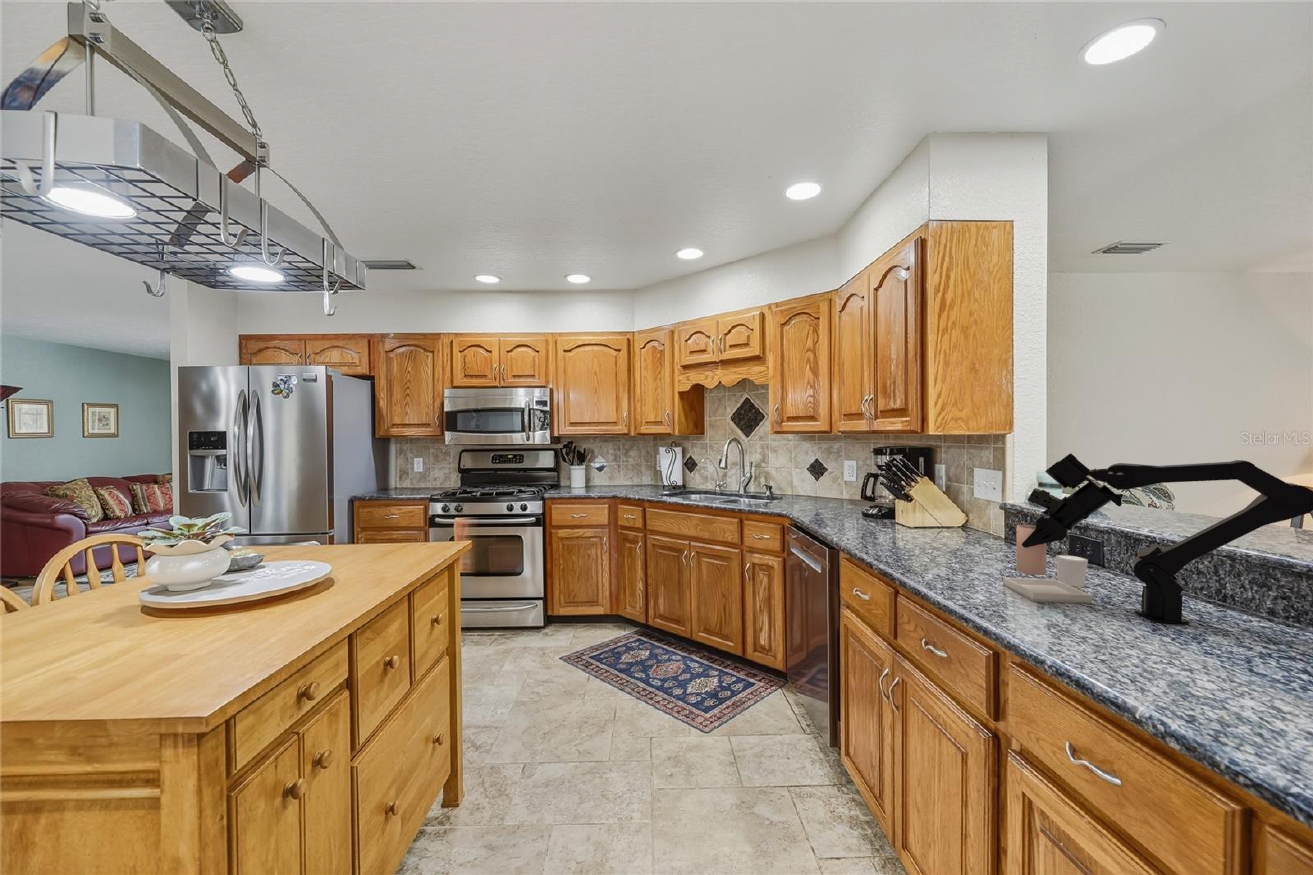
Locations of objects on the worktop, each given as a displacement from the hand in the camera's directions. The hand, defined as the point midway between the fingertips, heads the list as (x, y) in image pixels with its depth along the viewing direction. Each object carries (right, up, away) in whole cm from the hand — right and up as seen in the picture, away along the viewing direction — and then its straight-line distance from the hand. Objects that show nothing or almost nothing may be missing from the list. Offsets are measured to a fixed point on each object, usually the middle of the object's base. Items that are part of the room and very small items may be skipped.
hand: (1024, 544), depth 132 cm
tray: (+5, -13, +1) cm, 14 cm away
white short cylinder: (+19, -13, +10) cm, 25 cm away
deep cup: (+1, -7, -1) cm, 7 cm away
